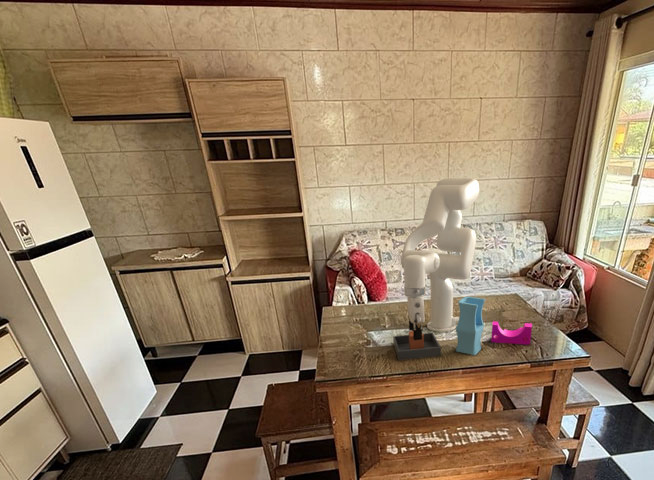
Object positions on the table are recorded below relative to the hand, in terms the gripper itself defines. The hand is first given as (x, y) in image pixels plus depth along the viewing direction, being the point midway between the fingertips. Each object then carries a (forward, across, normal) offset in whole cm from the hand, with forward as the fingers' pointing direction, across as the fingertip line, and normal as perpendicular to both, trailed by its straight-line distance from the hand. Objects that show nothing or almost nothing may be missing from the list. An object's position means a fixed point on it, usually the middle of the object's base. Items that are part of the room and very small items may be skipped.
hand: (415, 334), depth 155 cm
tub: (+7, +1, 0) cm, 7 cm away
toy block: (+7, +2, -39) cm, 40 cm away
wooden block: (+7, +1, 0) cm, 7 cm away
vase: (+7, -3, -20) cm, 22 cm away
